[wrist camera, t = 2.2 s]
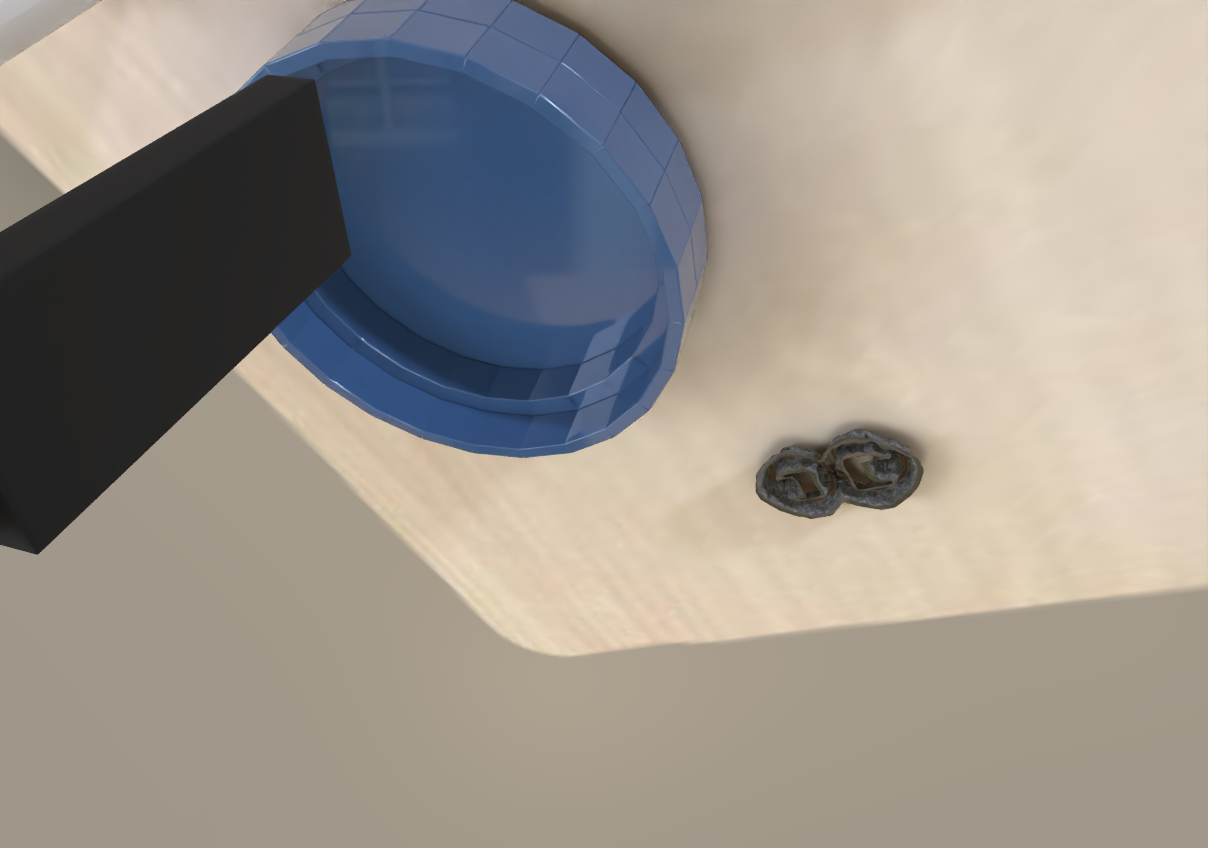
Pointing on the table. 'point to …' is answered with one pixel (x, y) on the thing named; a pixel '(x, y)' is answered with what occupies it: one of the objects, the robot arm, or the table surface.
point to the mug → (34, 21)
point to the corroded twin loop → (839, 476)
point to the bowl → (494, 227)
